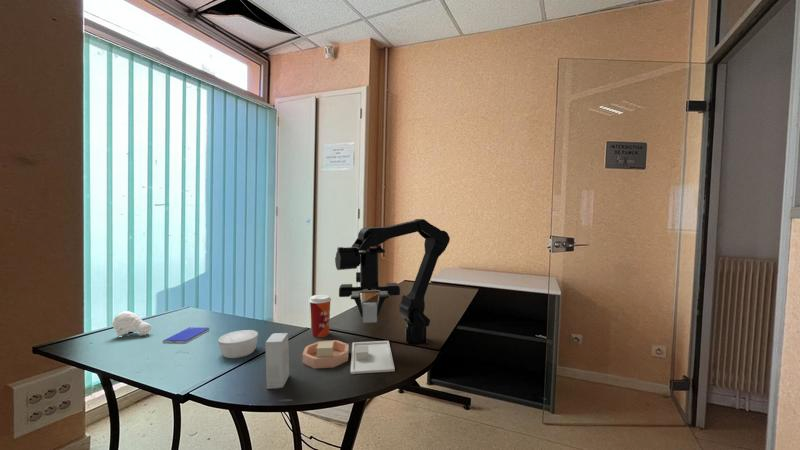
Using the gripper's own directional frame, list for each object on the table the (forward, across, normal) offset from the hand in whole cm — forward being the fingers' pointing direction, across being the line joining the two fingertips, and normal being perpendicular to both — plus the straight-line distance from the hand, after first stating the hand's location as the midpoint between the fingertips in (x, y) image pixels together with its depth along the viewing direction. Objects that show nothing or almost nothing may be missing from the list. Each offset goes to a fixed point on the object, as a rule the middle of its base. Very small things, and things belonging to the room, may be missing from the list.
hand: (369, 316), depth 104 cm
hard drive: (+12, +64, -21) cm, 69 cm away
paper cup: (+11, +17, -16) cm, 26 cm away
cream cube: (+10, +13, +7) cm, 18 cm away
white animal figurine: (+12, +84, -25) cm, 88 cm away
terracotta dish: (+11, +13, +4) cm, 18 cm away
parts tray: (+11, 0, +5) cm, 12 cm away
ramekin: (+11, +41, -5) cm, 43 cm away
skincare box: (+11, +24, +16) cm, 31 cm away
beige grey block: (+11, +2, +5) cm, 12 cm away
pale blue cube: (+1, 0, 0) cm, 1 cm away
